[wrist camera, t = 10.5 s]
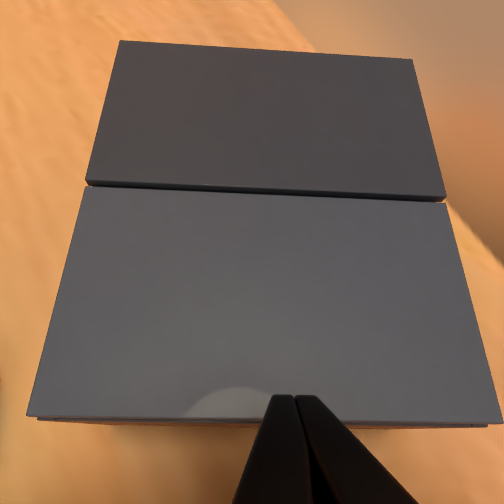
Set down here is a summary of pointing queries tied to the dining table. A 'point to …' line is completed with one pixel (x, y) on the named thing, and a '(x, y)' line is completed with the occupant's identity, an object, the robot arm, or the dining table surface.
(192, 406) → the flap
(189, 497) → the dining table surface
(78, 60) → the dining table surface
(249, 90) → the carton
